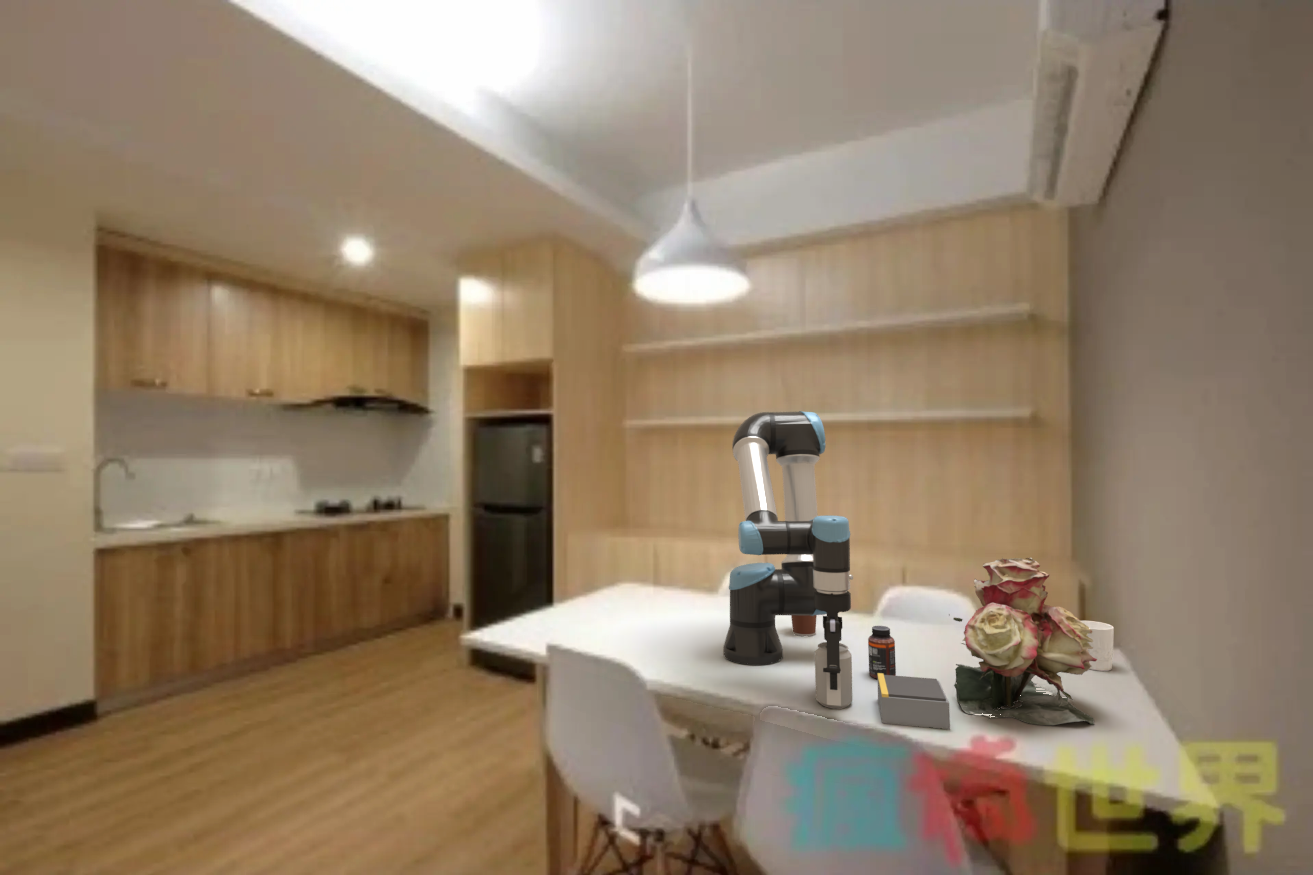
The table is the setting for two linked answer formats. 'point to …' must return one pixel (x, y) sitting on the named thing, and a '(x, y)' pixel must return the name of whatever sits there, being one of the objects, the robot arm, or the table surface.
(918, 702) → the block
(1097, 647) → the white cup
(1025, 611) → the rose bouquet
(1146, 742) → the table surface
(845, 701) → the can
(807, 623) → the coffee cup
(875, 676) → the supplement bottle
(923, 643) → the table surface
